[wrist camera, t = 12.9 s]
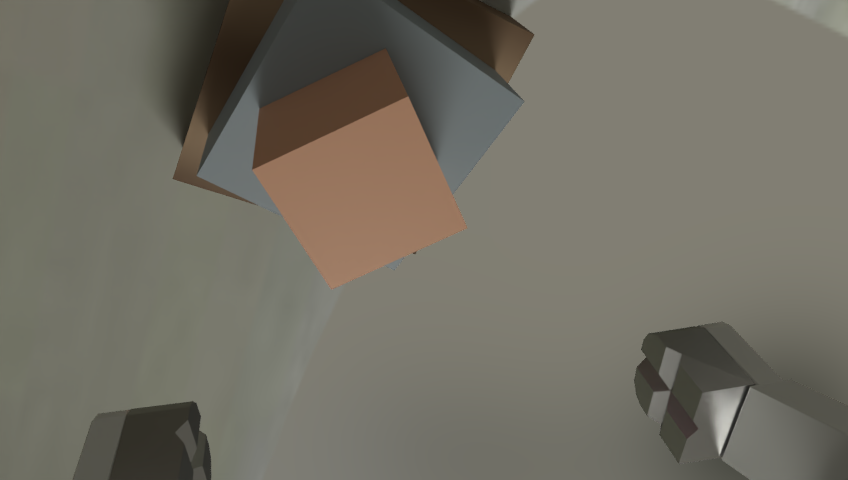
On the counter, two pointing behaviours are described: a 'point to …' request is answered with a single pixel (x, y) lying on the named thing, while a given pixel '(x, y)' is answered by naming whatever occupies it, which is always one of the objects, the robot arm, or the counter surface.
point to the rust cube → (354, 171)
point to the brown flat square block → (255, 10)
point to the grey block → (343, 46)
